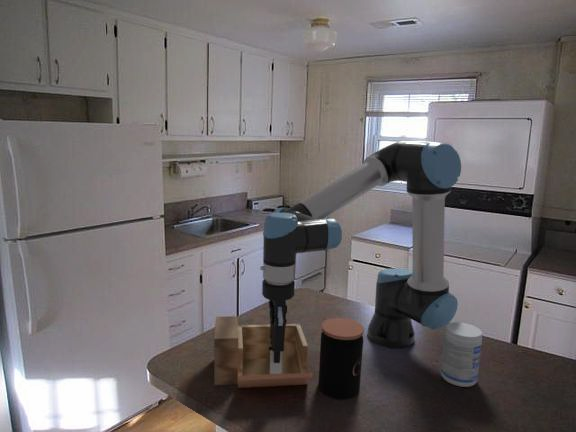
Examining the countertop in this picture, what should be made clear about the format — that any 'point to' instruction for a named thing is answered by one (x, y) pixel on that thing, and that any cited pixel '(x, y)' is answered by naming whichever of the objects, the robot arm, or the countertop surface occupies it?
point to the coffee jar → (340, 358)
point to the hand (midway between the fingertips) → (275, 371)
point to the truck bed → (253, 350)
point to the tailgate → (274, 380)
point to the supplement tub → (461, 354)
